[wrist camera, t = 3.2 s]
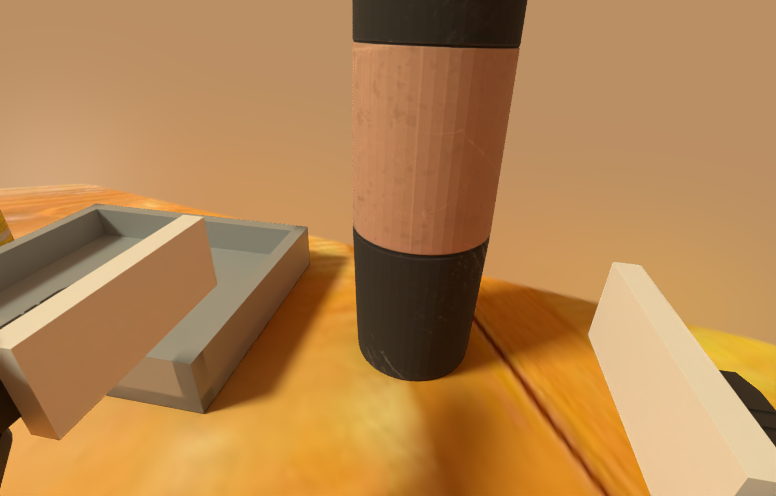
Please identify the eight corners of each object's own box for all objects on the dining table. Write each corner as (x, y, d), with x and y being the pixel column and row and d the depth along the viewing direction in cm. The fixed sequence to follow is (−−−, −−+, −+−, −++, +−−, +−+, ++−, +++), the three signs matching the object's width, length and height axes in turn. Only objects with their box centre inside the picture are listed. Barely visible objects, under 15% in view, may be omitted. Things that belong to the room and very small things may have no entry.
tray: (310, 263, 35) (307, 226, 33) (203, 413, 21) (190, 364, 19) (107, 238, 38) (95, 203, 36) (-103, 355, 24) (-138, 308, 22)
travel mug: (395, 294, 31) (410, -10, 22) (488, 333, 28) (555, -13, 18) (329, 349, 26) (311, -28, 16) (434, 407, 22) (490, -38, 12)
